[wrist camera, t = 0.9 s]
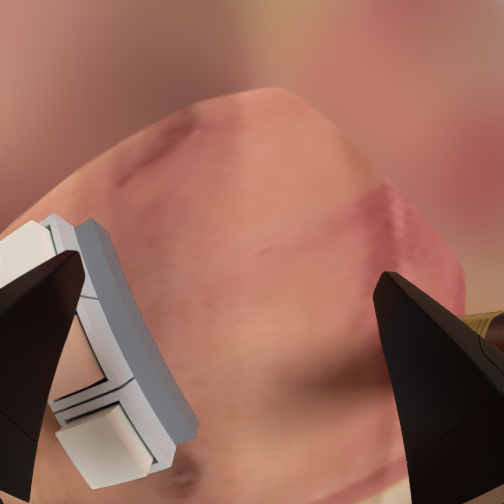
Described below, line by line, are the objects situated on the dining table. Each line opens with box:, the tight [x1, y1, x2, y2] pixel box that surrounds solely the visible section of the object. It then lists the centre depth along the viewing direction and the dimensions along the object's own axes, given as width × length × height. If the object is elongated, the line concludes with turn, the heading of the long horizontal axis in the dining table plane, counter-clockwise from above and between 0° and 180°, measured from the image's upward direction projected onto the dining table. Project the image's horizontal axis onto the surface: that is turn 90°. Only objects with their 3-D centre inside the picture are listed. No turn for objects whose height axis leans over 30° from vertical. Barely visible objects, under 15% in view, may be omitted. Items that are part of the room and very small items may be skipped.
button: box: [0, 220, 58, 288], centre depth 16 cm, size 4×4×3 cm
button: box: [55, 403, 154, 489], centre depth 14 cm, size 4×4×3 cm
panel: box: [38, 213, 198, 474], centre depth 20 cm, size 19×10×8 cm, turn 28°
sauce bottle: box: [456, 311, 504, 354], centre depth 18 cm, size 6×6×20 cm
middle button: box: [47, 315, 106, 402], centre depth 15 cm, size 4×4×3 cm
